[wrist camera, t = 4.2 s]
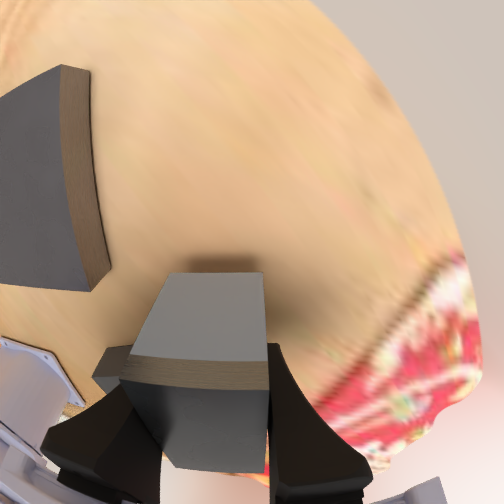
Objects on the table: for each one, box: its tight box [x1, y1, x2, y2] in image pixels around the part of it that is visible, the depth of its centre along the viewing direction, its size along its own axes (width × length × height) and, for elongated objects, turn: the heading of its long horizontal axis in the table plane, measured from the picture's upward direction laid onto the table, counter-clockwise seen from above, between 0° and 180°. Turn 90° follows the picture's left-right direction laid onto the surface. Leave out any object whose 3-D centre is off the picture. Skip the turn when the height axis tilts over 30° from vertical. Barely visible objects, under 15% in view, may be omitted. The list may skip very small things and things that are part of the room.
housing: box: [118, 272, 269, 473], centre depth 10 cm, size 4×7×6 cm, turn 1°
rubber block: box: [92, 345, 133, 394], centre depth 16 cm, size 4×4×3 cm
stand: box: [0, 64, 111, 292], centre depth 11 cm, size 11×11×2 cm
